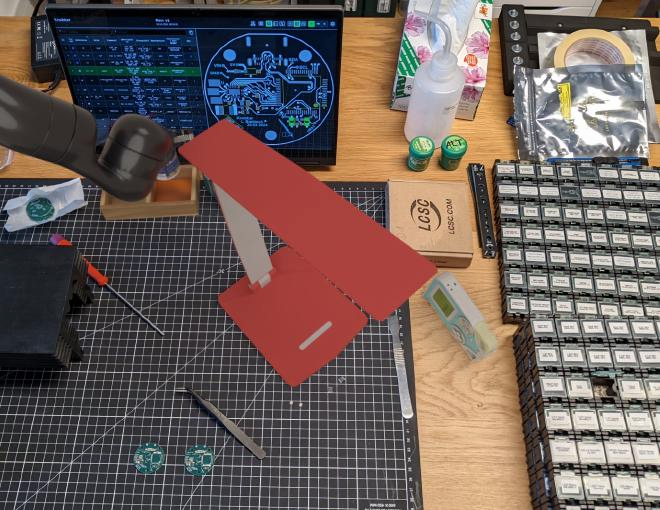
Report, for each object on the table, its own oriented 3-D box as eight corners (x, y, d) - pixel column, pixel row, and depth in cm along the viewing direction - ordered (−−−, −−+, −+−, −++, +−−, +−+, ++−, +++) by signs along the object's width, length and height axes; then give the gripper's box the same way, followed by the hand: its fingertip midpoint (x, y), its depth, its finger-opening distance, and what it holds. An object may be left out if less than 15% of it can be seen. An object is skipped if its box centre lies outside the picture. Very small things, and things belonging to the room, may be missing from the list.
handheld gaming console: (470, 369, 105) (419, 297, 109) (483, 361, 106) (432, 289, 110) (491, 353, 95) (434, 274, 99) (505, 344, 96) (448, 266, 100)
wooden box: (198, 215, 118) (195, 203, 114) (106, 220, 117) (99, 208, 113) (200, 176, 122) (196, 164, 119) (110, 181, 121) (104, 169, 118)
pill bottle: (175, 183, 110) (163, 148, 102) (146, 179, 111) (132, 143, 102) (184, 160, 113) (173, 123, 104) (156, 155, 113) (142, 119, 105)
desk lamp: (340, 441, 97) (349, 349, 62) (192, 281, 111) (131, 132, 76) (418, 367, 103) (466, 245, 68) (269, 223, 117) (245, 61, 82)
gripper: (189, 113, 91) (193, 110, 107) (90, 131, 89) (108, 126, 106) (200, 163, 93) (202, 153, 109) (104, 182, 91) (120, 169, 108)
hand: (156, 140), depth 107 cm, fingers closed on pill bottle, 5 cm apart
